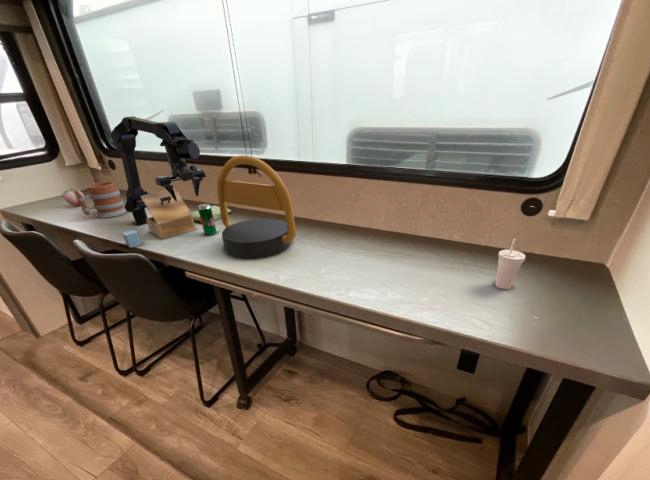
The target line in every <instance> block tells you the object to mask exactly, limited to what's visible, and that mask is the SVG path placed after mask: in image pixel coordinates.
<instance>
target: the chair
mask: <svg viewBox="0 0 650 480" xmlns="http://www.w3.org/2000/svg"><path fill="white" fill-rule="evenodd" d="M239 165H249V166H252V167H255V168H256V169H259V170H260V171H261V172H262V173H263V174H265V175H266V176H267V177H268V178H269V179H270V181H271V182H272V183H273V184H266V183H258V182H248V181H239V180H229V179H228V177H229V174H230V173H231V171H232V170H233V168H234V169H235V167H237V166H239ZM216 194H217V201H218V207H220V212H221V217H220V219H221V221H222V224H223V226H224V227H225V228H224V229H223V230H222V231H221V238H222V242H223V247H224V251H225V253H226V254H227V255H228V256H230V257H232V258H234V259H242V260H257V259H258V260H259V259H264V258H268V257H269V258H270V257H272V256H275V255H278V254H280V253H282V252H285V251H286V250H287V249H288V248H289V247H290V245H291V243H292V242H293V241H294V239H295V237H296V236H297V232H296V230H297V229H296V223H295V216H294V210H293V203H292V199H291V198H292V197H291V196H290V193H289V190H288V188H287V186H286V184H285V183H284V181H283V180H282V178H281V177H280V175H279V174H278V173H277V172H276V171H275V170H274V169H273V168H272V167H271V166H270V165H269V164H267V163H266V162H265V161H263V160H261V159H259V158H257V157H255V156H252V155H237V156H234V157H232V158H230V159H228V160H227V161H226V162H225V164H224V165H223V166H222V169H221V170H220V173H219V175H218V178H217V183H216ZM227 203H228V204H234V205H239V206H240V205H241V206H247V207H254V208H260V209H266V210H272V211H279V212H282V211H283V212H284V216H285V221H284V220H280V219H276V218H254V219H253V218H252V219H248V220H242V221H239V222H235V223H232V222H231V220H230V218H229V213H228V211H227V209H228V206H227Z"/></svg>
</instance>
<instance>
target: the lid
mask: <svg viewBox="0 0 650 480" xmlns="http://www.w3.org/2000/svg"><path fill="white" fill-rule="evenodd" d="M173 190H174V193H175V195H176V198H177V202H176V201H175V200H174V199H173V197H172V196H171V195H170V193H169V192H168V191H167V190H166V189H165V190H160V191H156V192H151V193H148V194H146V195H142V196H140V197H141V199H142V200H143V202H144V203H145V205H146V207H147V208H146V209H147V211H149V213H150V215H151V217H153V218H154V220H155V221H156V223H157V224H158V225H161V224H164V223H168V222H171V221H175V220H179V219H182V218H186V217H189V216H192V214H191V213H192V212H191V211H190V209H189V208H188V206H187V204H186V203H185V202H184V200H183V198H182V197H181V195H180V193H179V191H178V190H177V189H176V188H175V187H173Z"/></svg>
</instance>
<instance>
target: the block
mask: <svg viewBox="0 0 650 480" xmlns="http://www.w3.org/2000/svg"><path fill="white" fill-rule="evenodd" d="M122 236H123V240H124V241H125V244H126V246H127V247H128V248H130V249H132V248H136V247H139V246H142V245H143V243H142V240H141V238H140V234H139V232H138V231H136V230H135V229H132V230H128V231H124V232H122Z"/></svg>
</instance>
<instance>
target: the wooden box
mask: <svg viewBox="0 0 650 480" xmlns="http://www.w3.org/2000/svg"><path fill="white" fill-rule="evenodd" d="M146 220H147V223H146V224H147V226H148V229H149V232H150V233H152V234H153V235H155V236H157V237H158V238H160V239H162V240H165V239H168V238H171V237H174V236H178V235H182V234H185V233H189V232H191V231H194V230H196V225H195V221H194V220H193V217H192V216H189V217H186V218H182V219H179V220H175V221H171V222H168V223H164V224H161V225H158V224H157V223H156V221H155V220H154V218H153V216H151V217H148V218H147V219H146Z"/></svg>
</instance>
